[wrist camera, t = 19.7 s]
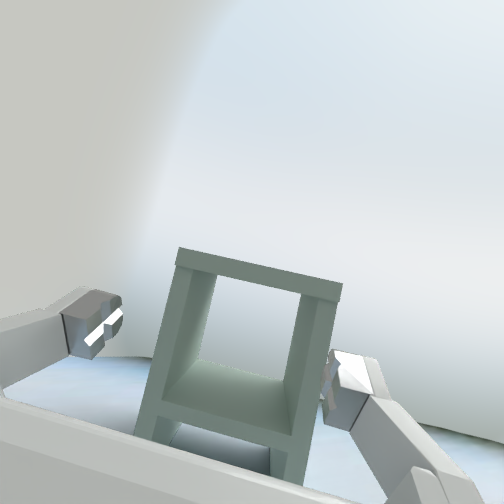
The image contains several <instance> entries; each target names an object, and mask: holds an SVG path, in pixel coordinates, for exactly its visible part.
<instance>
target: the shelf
mask: <svg viewBox="0 0 504 504" xmlns="http://www.w3.org/2000/svg"><path fill="white" fill-rule="evenodd" d="M175 265H176V268H175V272H174V276H173V280H172V284H171V288H170V292H169V296H168V300H167V304H166V308H165V312H164V316H163V319H162V323H161V327H160V331H159V335H158V340H157V343H156V347H155V351H154V355H153V359H152V363H151V367H150V371H149V375H148V379H147V383H146V387H145V391H144V395H143V399H142V403H141V407H140V411H139V415H138V419H137V422H136V426H135V430H134V434H133V436H136V437H139V438H143V439H146V440H149V441H153V442H156V443H159V444H163V445H166V446H168V445H169V444H170V442H171V440H172V439H173V437H174V435H175V434H176V432H177V430H178V429H179V427H180V425H181V424H182V423H185V424H189V425H192V426H196V427H199V428H203V429H206V430H210V431H213V432H217V433H220V434H224V435H227V436H231V437H235V438H238V439H242V440H245V441H249V442H252V443H256V444H259V445H263V446H266V447H270V477H273V478H277V479H280V480H283V481H287V482H290V483H293V484H297V485H300V486H303V482H304V477H305V471H306V466H307V461H308V456H309V451H310V445H311V440H312V435H313V430H314V424H315V419H316V414H317V409H318V404H319V398H320V393H321V388H320V380H321V374H322V370H323V368H324V365H326V362H327V357H328V351H329V346H330V340H331V336H332V330H333V325H334V320H335V314H336V309H337V304H338V302H339V301H340V295H341V291H342V285H343V284H342V283H338V282H334V281H329V280H325V279H320V278H316V277H311V276H307V275H302V274H298V273H293V272H289V271H284V270H279V269H275V268H271V267H266V266H262V265H257V264H252V263H248V262H244V261H239V260H235V259H230V258H226V257H221V256H217V255H212V254H208V253H203V252H199V251H194V250H189V249H185V248H181V247H179V249H178V253H177V257H176V261H175ZM217 275H221V276H226V277H231V278H234V279H239V280H243V281H248V282H252V283H256V284H261V285H265V286H269V287H274V288H279V289H283V290H287V291H291V292H296V293H301V298H300V302H299V307H298V312H297V317H296V322H295V327H294V332H293V336H292V341H291V346H290V351H289V356H288V361H287V366H286V370H285V376H284V380H283V381H282V380H278V379H273V378H270V377H266V376H262V375H258V374H255V373H251V372H247V371H243V370H239V369H235V368H231V367H228V366H224V365H220V364H216V363H212V362H208V361H204V360H201V359H198V355H199V351H200V347H201V342H202V338H203V334H204V329H205V325H206V321H207V317H208V313H209V309H210V304H211V300H212V296H213V292H214V287H215V283H216V279H217Z"/></svg>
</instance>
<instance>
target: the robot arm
mask: <svg viewBox="0 0 504 504" xmlns="http://www.w3.org/2000/svg"><path fill="white" fill-rule="evenodd" d="M121 305H122V300H121V297H120V296H118V295H115V294H111V293H107V292H104V291H100V290H97V289H92V288H89V287H85V286H82V287H78V288H77V289H75V290H73V291H72V292H70V293H69V294H67V295H66V296H64V297H63V298H61V299H59V300H58V301H56V302H55V303H53V304H52V305H50V306H49V307H47V308H45V309H44V310H43V309H36V310H33V311H29V312H26V313H21V314H17V315H14V316H10V317H6V318H2V319H0V504H361V503H357V502H354V501H351V500H347V499H344V498H340V497H337V496H334V495H330V494H327V493H324V492H320V491H317V490H314V489H310V488H307V487H303V486H300V485H297V484H293V483H290V482H287V481H283V480H280V479H277V478H273V477H270V476H267V475H263V474H260V473H256V472H253V471H250V470H246V469H243V468H240V467H236V466H233V465H230V464H226V463H223V462H220V461H216V460H213V459H209V458H206V457H203V456H199V455H196V454H193V453H189V452H186V451H183V450H179V449H176V448H173V447H169V446H166V445H163V444H159V443H156V442H153V441H149V440H146V439H143V438H139V437H136V436H132V435H129V434H126V433H122V432H119V431H116V430H112V429H109V428H106V427H102V426H99V425H96V424H92V423H89V422H86V421H82V420H79V419H75V418H72V417H69V416H65V415H62V414H59V413H55V412H52V411H49V410H45V409H42V408H39V407H35V406H32V405H29V404H25V403H22V402H18V401H15V400H12V399H8V398H6V397H5V395H4V392H3V389H4V388H6V387H8V386H10V385H12V384H14V383H16V382H18V381H20V380H22V379H24V378H26V377H28V376H30V375H32V374H34V373H36V372H38V371H40V370H42V369H44V368H46V367H48V366H50V365H52V364H54V363H56V362H58V361H60V360H62V359H64V358H66V357H68V356H69V355H72V356H77V357H81V358H85V359H89V360H92V359H93V358H94V357H95V356H96V355H97V353H99V352H100V351H101V350H102V348H103V347H104V346H105V341H106V340H109V339H111V338H113V337H114V336H115V335H116V334H117V333H118V331H119V329H120V327H121V325H122V321H123V314H122V312H121V311H120V310H119V307H120V306H121ZM328 362H329V363H328V364H326V365H324V368H323V370H322V374H321V380H320V388H321V394H322V395H323V397H324V398H325V399H324V401H323V404H322V411H323V421H324V424H325V425H329V426H332V427H335V428H338V429H342V430H345V431H348V432H350V435H351V437H352V439H353V440H354V442H355V444H356V445H357V447H358V449H359V450H360V452H361V454H362V455H363V457H364V459H365V460H366V462H367V464H368V466H369V467H370V469H371V471H372V472H373V474H374V476H375V477H376V479H377V481H378V482H379V484H380V486H381V488H382V489H383V491H384V493H385V494H386V496H387V498H388V499H387V501H386V502H385V503H384V504H485V503H484V501H483V500H482V498H481V496H480V494H479V492H478V490H477V488H476V486H475V484H474V482H473V481H472V480H471V479H470V478H469V477H468V476H467V475H466V474H465V473H464V471H463V470H462V469H461V468H460V467H459V466H458V465H457V464H456V463H455V462H454V461H453V460H452V459H451V458H450V457H449V456H448V455H447V454H446V453H445V452H444V451H443V450H442V449H441V447H440V446H439V445H438V444H437V443H436V442H435V441H434V440H433V439H432V438H431V437H430V436H429V435H428V434H427V433H426V432H425V431H424V430H423V429H422V428H421V427H420V426H419V425H418V423H417V422H416V421H415V420H414V419H413V418H412V417H411V416H410V415H409V414H408V413H407V412H406V411H405V410H404V409H403V408H402V407H401V406H400V405H399V404H398V403H397V402H395V401H392V399H391V396H390V394H389V391H388V388H387V386H386V383H385V380H384V378H383V375H382V373H381V370H380V367H379V364H378V362H377V360H376V359H375V358H370V357H366V356H359V355H356V354H352V353H348V352H344V351H339V350H335V349H331V351H330V352H329V355H328Z"/></svg>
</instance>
